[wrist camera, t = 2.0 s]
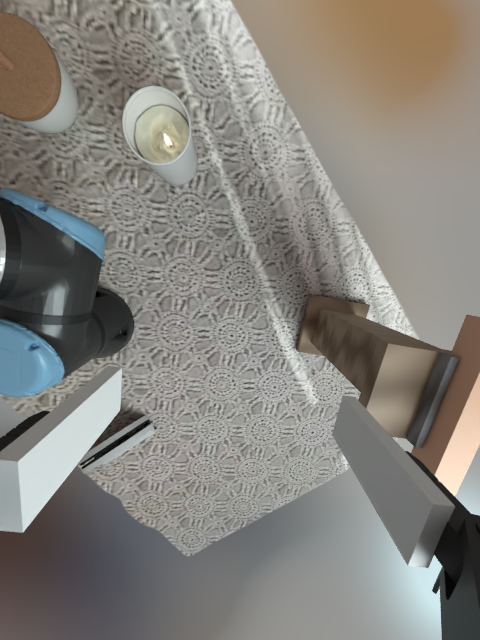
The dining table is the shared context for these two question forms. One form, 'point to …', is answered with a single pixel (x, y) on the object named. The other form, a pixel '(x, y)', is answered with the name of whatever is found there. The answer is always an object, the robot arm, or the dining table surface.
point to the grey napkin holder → (118, 444)
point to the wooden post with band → (380, 365)
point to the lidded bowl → (33, 79)
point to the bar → (457, 414)
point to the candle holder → (161, 133)
